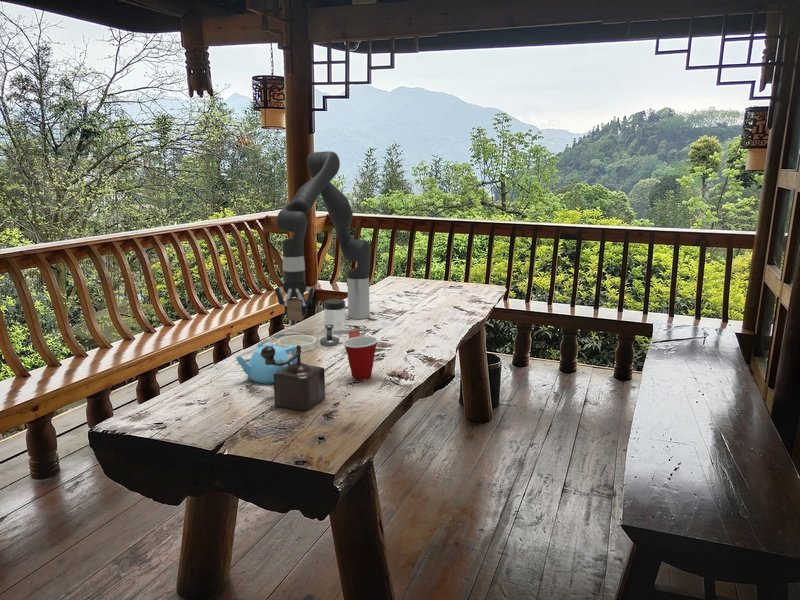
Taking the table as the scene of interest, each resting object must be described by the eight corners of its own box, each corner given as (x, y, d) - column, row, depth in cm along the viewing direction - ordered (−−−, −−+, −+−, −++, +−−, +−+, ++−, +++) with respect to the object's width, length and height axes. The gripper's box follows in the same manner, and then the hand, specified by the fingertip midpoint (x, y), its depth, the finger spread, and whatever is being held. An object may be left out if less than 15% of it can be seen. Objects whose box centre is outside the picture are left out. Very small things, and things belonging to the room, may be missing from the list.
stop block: (290, 316, 215) (290, 297, 213) (304, 317, 215) (303, 298, 213) (287, 320, 210) (286, 301, 209) (301, 320, 210) (300, 301, 208)
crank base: (317, 342, 221) (316, 324, 219) (335, 339, 224) (334, 322, 222) (323, 347, 215) (323, 329, 213) (342, 344, 218) (341, 326, 216)
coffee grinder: (293, 392, 172) (290, 332, 168) (326, 398, 168) (324, 337, 164) (260, 413, 158) (256, 348, 154) (295, 419, 154) (292, 353, 150)
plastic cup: (348, 370, 191) (347, 334, 188) (381, 372, 189) (381, 335, 186) (339, 382, 180) (338, 344, 177) (374, 384, 178) (373, 345, 176)
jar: (329, 335, 230) (328, 304, 227) (320, 330, 237) (319, 300, 234) (350, 331, 235) (349, 301, 232) (340, 326, 241) (339, 297, 239)
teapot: (282, 388, 175) (280, 353, 173) (236, 384, 179) (233, 349, 177) (303, 371, 190) (302, 339, 187) (260, 367, 194) (258, 335, 191)
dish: (272, 344, 218) (272, 337, 217) (309, 339, 224) (309, 333, 223) (283, 355, 205) (283, 348, 205) (322, 349, 212) (322, 342, 211)
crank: (333, 341, 218) (333, 331, 218) (333, 340, 220) (333, 330, 219) (359, 340, 220) (359, 330, 219) (359, 339, 221) (359, 329, 220)
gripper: (316, 267, 212) (318, 313, 216) (276, 266, 212) (278, 313, 216) (312, 270, 204) (314, 318, 208) (270, 270, 205) (273, 318, 209)
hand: (296, 315), depth 212 cm, fingers closed on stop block, 5 cm apart
